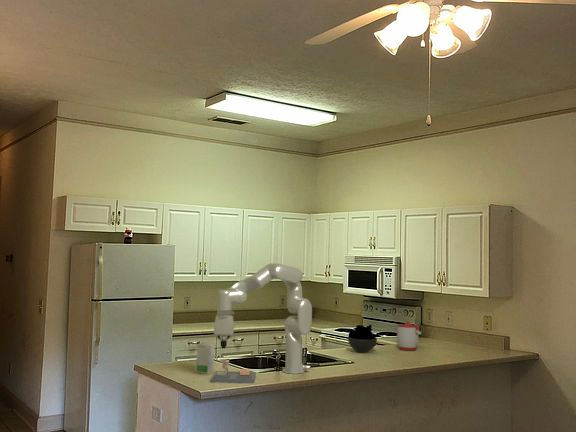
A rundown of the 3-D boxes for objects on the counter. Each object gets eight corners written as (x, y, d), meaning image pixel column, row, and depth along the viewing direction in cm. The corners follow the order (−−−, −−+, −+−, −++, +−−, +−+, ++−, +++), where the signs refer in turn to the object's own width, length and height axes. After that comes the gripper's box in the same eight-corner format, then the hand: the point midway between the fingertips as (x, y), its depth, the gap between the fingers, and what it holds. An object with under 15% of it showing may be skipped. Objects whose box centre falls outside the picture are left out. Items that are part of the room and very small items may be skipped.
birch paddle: (228, 371, 335) (229, 359, 336) (228, 372, 332) (228, 361, 333) (222, 371, 335) (222, 359, 336) (221, 372, 332) (221, 360, 333)
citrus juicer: (416, 352, 424) (416, 323, 425) (392, 349, 433) (393, 321, 434) (424, 349, 437) (424, 321, 438) (401, 347, 446) (401, 319, 447)
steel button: (227, 375, 325) (227, 371, 325) (226, 377, 320) (226, 373, 320) (218, 375, 325) (218, 371, 325) (216, 377, 320) (217, 373, 320)
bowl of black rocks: (349, 354, 410) (349, 326, 411) (346, 349, 430) (346, 322, 431) (378, 355, 410) (379, 326, 411) (374, 350, 430) (374, 323, 431)
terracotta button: (250, 373, 325) (250, 369, 325) (249, 375, 320) (249, 371, 320) (240, 373, 325) (240, 369, 325) (239, 375, 320) (240, 371, 320)
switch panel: (255, 375, 337) (255, 369, 337) (253, 383, 318) (254, 376, 318) (215, 374, 337) (216, 368, 337) (211, 382, 318) (211, 375, 318)
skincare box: (195, 372, 342) (196, 344, 343) (201, 370, 348) (201, 342, 349) (208, 373, 339) (209, 345, 340) (214, 371, 345) (214, 343, 346)
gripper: (238, 312, 328) (238, 347, 327) (211, 312, 328) (210, 346, 327) (237, 314, 321) (237, 349, 320) (209, 313, 321) (208, 349, 320)
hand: (223, 348), depth 324 cm, fingers closed
